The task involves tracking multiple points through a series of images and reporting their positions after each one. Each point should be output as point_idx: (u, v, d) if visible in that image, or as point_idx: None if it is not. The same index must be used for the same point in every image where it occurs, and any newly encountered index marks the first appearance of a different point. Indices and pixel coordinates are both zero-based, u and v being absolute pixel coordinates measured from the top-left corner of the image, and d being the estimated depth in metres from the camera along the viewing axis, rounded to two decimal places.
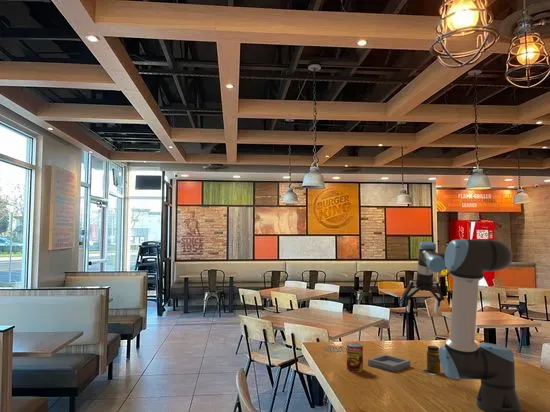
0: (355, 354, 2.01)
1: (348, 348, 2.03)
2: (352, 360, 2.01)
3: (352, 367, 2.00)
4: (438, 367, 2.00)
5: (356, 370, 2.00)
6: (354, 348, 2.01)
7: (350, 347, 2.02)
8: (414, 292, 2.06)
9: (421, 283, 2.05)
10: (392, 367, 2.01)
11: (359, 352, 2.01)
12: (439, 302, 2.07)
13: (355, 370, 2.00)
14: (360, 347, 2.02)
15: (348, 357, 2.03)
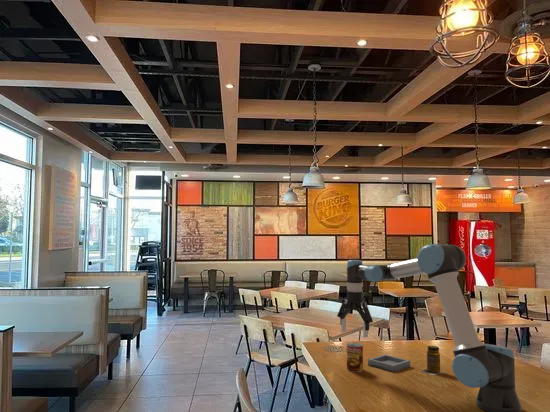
0: (355, 354, 2.01)
1: (348, 348, 2.03)
2: (352, 360, 2.01)
3: (352, 367, 2.00)
4: (438, 367, 2.00)
5: (356, 370, 2.00)
6: (354, 348, 2.01)
7: (350, 347, 2.02)
8: (345, 310, 2.09)
9: (350, 301, 2.07)
10: (392, 367, 2.01)
11: (359, 352, 2.01)
12: (366, 325, 2.00)
13: (355, 370, 2.00)
14: (360, 347, 2.02)
15: (348, 357, 2.03)
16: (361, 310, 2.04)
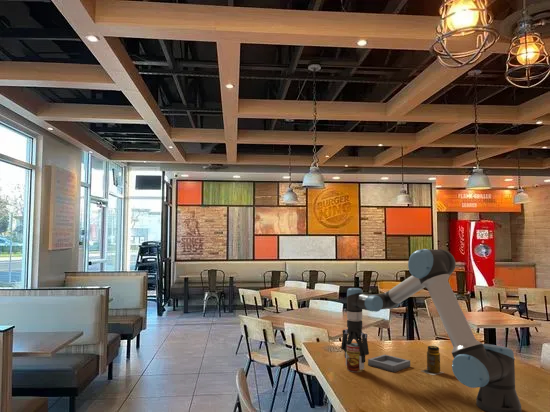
0: (355, 354, 2.01)
1: (348, 348, 2.03)
2: (352, 360, 2.01)
3: (352, 367, 2.00)
4: (438, 367, 2.00)
5: (356, 370, 2.00)
6: (354, 348, 2.01)
7: (350, 347, 2.02)
8: (347, 341, 2.07)
9: (350, 329, 2.06)
10: (392, 367, 2.01)
11: (359, 352, 2.01)
12: (363, 357, 2.00)
13: (355, 370, 2.00)
14: None
15: (348, 357, 2.03)
16: (360, 341, 2.03)
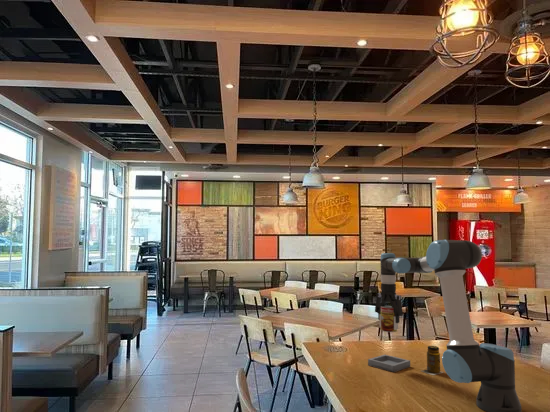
0: (390, 314, 2.10)
1: (382, 309, 2.12)
2: (387, 321, 2.10)
3: (387, 327, 2.09)
4: (438, 367, 2.00)
5: (391, 330, 2.09)
6: (388, 309, 2.10)
7: (384, 308, 2.11)
8: (381, 304, 2.16)
9: (384, 292, 2.15)
10: (392, 367, 2.01)
11: None
12: (397, 318, 2.09)
13: (390, 330, 2.09)
14: None
15: (382, 318, 2.11)
16: (394, 302, 2.12)
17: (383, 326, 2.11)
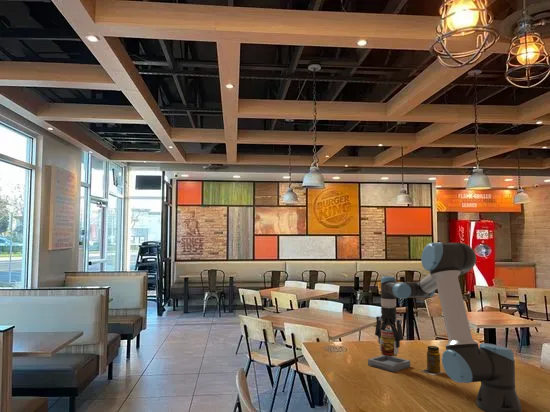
0: (390, 339, 2.08)
1: (383, 334, 2.11)
2: (387, 345, 2.09)
3: (387, 352, 2.08)
4: (438, 367, 2.00)
5: (391, 355, 2.08)
6: (389, 333, 2.09)
7: (385, 333, 2.10)
8: (381, 328, 2.15)
9: (384, 316, 2.14)
10: (392, 367, 2.01)
11: (394, 337, 2.09)
12: (397, 342, 2.08)
13: (390, 355, 2.08)
14: None
15: (383, 342, 2.10)
16: (394, 327, 2.10)
17: (383, 350, 2.10)
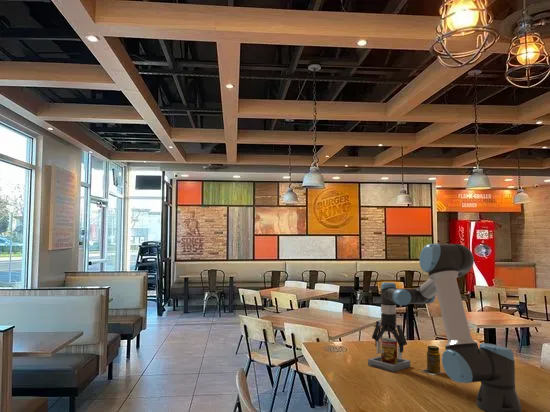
0: (390, 348, 2.08)
1: (383, 343, 2.10)
2: (387, 355, 2.08)
3: (387, 361, 2.08)
4: (438, 367, 2.00)
5: None
6: (389, 343, 2.08)
7: (385, 342, 2.09)
8: (380, 332, 2.15)
9: (384, 323, 2.13)
10: (392, 367, 2.01)
11: (394, 347, 2.08)
12: (401, 347, 2.06)
13: None
14: (395, 342, 2.09)
15: (383, 352, 2.10)
16: (395, 332, 2.10)
17: (383, 360, 2.09)
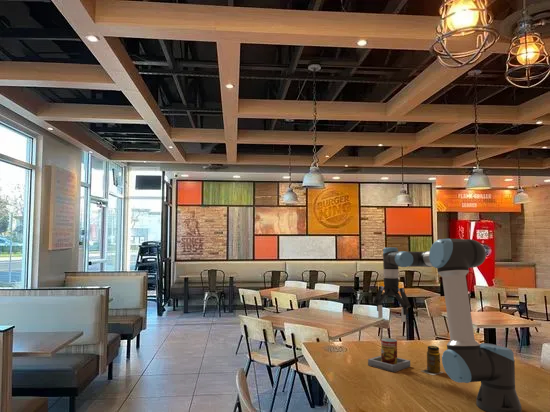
0: (390, 348, 2.08)
1: (383, 343, 2.10)
2: (387, 355, 2.08)
3: (387, 361, 2.08)
4: (438, 367, 2.00)
5: None
6: (389, 343, 2.08)
7: (385, 342, 2.09)
8: (382, 297, 2.15)
9: (387, 288, 2.13)
10: (392, 367, 2.01)
11: (394, 347, 2.08)
12: (404, 310, 2.05)
13: None
14: (395, 342, 2.09)
15: (383, 352, 2.10)
16: (398, 296, 2.09)
17: (383, 360, 2.09)
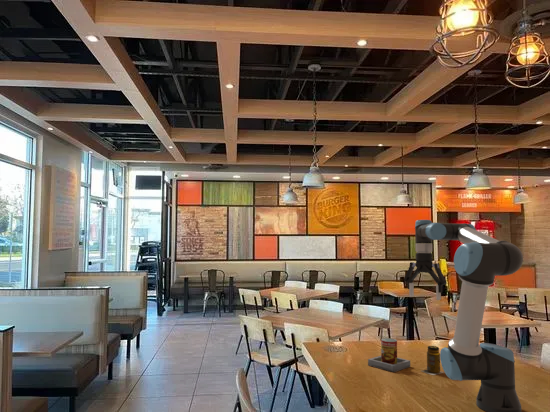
0: (390, 348, 2.08)
1: (383, 343, 2.10)
2: (387, 355, 2.08)
3: (387, 361, 2.08)
4: (438, 367, 2.00)
5: None
6: (389, 343, 2.08)
7: (385, 342, 2.09)
8: (413, 274, 1.98)
9: (419, 264, 1.96)
10: (392, 367, 2.01)
11: (394, 347, 2.08)
12: (440, 287, 1.88)
13: None
14: (395, 342, 2.09)
15: (383, 352, 2.10)
16: (432, 272, 1.92)
17: (383, 360, 2.09)
